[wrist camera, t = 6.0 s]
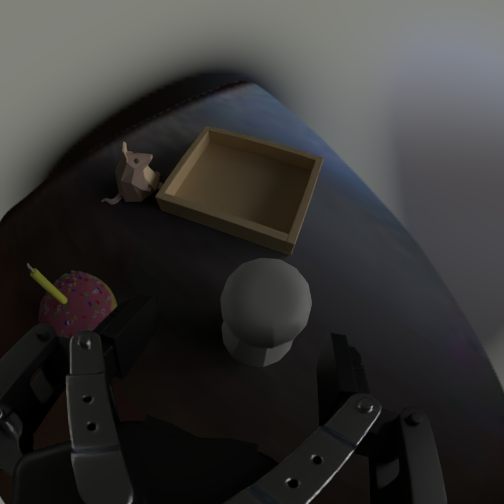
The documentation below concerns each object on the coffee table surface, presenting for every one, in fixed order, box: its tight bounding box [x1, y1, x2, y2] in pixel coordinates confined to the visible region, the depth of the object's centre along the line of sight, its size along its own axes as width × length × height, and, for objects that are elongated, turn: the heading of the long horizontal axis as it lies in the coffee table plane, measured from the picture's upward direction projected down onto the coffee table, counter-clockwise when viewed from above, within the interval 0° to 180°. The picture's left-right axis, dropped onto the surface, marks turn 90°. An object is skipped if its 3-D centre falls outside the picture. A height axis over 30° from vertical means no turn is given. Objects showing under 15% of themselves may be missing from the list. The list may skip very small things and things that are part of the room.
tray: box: [155, 126, 324, 256], centre depth 29 cm, size 15×12×3 cm
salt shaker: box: [220, 258, 312, 367], centre depth 18 cm, size 6×6×13 cm
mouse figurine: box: [101, 142, 163, 205], centre depth 27 cm, size 5×8×7 cm, turn 111°
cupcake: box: [27, 263, 117, 338], centre depth 18 cm, size 9×8×12 cm
